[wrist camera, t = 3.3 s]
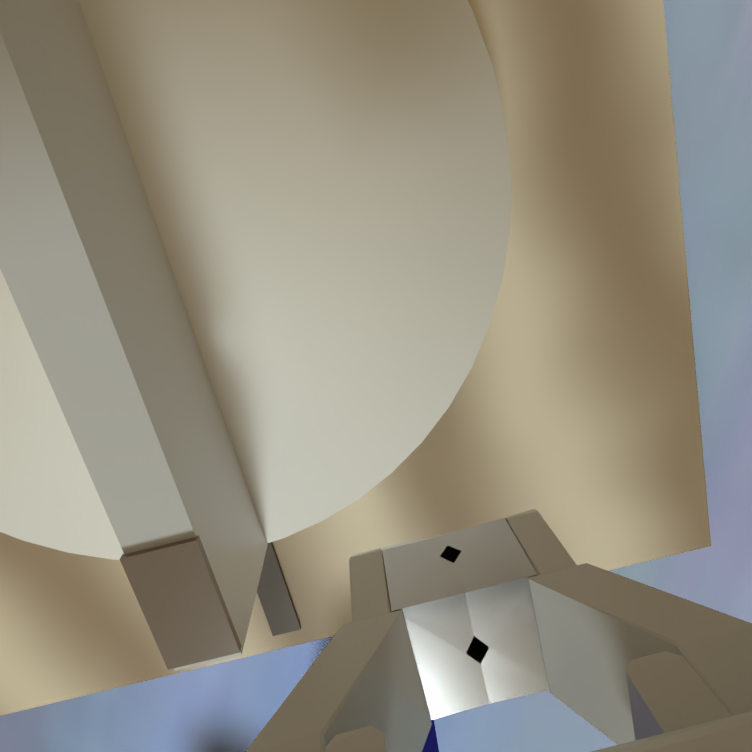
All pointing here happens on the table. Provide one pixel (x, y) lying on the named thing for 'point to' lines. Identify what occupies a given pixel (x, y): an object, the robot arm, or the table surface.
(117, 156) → the dial
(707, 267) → the table surface
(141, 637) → the dial board
